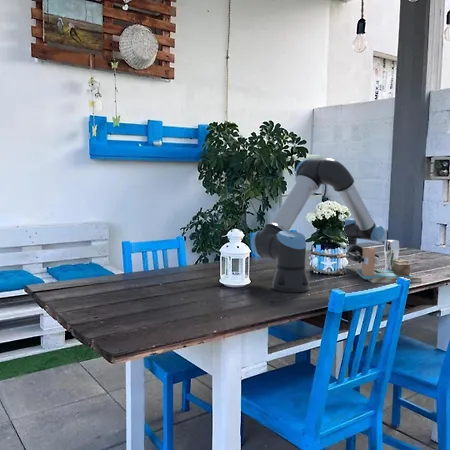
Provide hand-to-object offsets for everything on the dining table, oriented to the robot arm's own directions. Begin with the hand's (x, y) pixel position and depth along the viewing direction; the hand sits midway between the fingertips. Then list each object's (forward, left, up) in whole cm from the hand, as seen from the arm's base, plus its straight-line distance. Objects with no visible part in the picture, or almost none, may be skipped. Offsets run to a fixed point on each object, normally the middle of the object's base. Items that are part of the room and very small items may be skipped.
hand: (372, 261), depth 204 cm
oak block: (+19, +14, -7) cm, 25 cm away
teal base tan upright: (+9, +5, -8) cm, 13 cm away
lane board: (+11, +10, -10) cm, 18 cm away
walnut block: (+16, +5, -7) cm, 18 cm away
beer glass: (+19, +26, -10) cm, 34 cm away
